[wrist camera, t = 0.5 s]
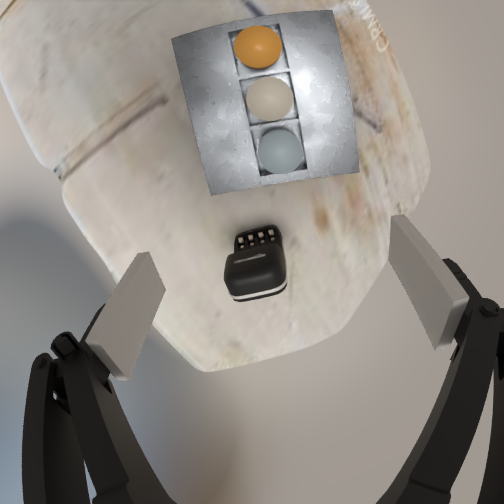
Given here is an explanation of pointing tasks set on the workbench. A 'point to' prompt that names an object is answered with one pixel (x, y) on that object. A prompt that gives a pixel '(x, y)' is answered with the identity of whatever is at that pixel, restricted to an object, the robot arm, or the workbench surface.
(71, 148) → the workbench surface
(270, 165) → the pale blue button
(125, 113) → the workbench surface
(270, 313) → the workbench surface
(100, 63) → the workbench surface
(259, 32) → the orange button
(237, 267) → the battery charger
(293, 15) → the panel
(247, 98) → the ivory button
